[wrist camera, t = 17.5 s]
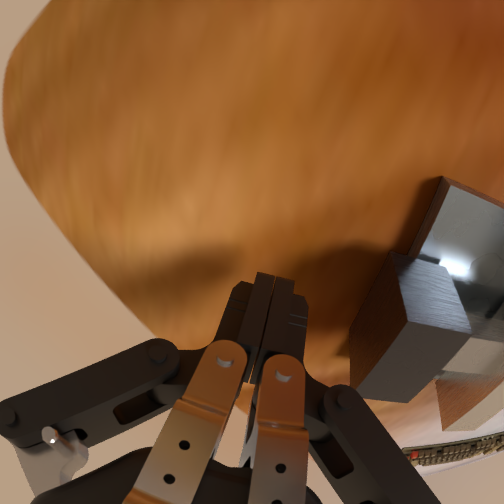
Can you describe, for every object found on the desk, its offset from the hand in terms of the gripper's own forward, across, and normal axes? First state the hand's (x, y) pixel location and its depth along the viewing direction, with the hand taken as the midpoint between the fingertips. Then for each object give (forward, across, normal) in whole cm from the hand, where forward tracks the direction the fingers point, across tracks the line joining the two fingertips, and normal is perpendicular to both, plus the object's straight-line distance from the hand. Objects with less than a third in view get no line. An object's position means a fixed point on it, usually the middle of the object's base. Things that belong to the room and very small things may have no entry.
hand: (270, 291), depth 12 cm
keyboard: (+4, -31, +21) cm, 38 cm away
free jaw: (+2, -10, 0) cm, 10 cm away
